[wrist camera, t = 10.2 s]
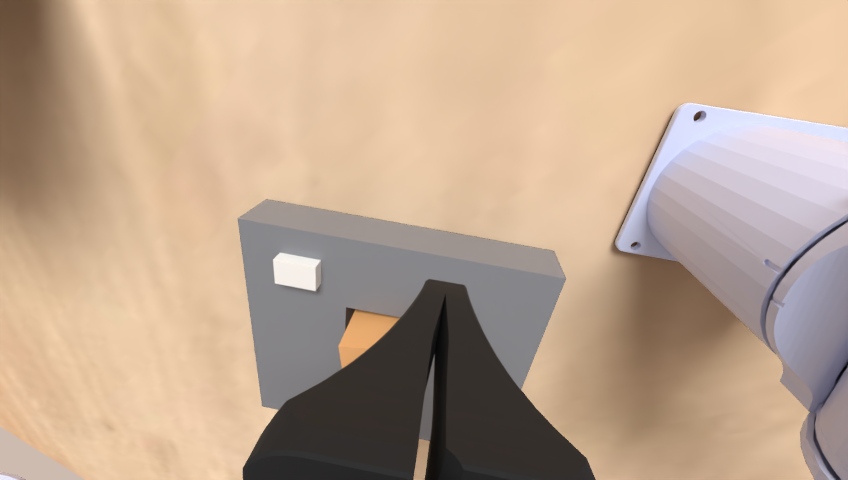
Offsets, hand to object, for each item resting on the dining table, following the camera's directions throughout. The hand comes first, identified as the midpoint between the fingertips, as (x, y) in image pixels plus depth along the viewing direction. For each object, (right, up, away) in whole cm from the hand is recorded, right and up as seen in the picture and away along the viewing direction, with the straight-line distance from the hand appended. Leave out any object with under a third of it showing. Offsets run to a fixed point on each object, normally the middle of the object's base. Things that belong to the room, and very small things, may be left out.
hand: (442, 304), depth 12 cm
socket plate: (-3, -4, +13) cm, 14 cm away
